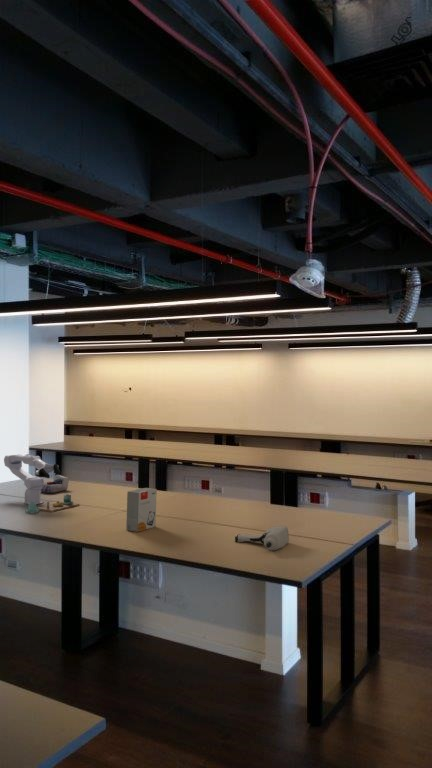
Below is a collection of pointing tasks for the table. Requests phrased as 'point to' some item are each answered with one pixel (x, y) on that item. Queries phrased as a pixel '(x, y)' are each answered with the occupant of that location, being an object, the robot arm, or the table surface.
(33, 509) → the gear
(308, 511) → the table surface
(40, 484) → the robot arm
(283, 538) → the impact wrench
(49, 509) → the gear carrier
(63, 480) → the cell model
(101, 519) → the table surface
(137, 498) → the hard drive box
